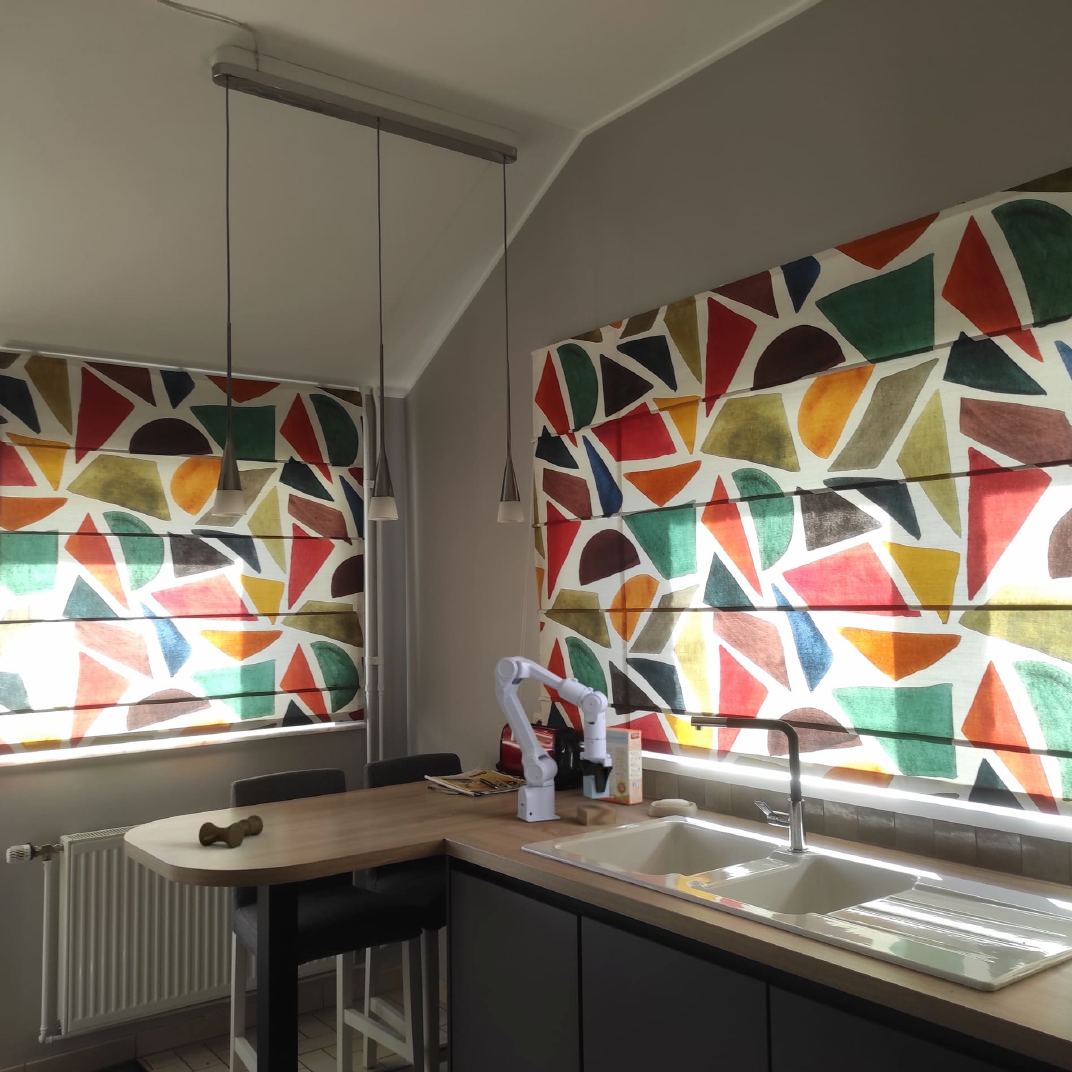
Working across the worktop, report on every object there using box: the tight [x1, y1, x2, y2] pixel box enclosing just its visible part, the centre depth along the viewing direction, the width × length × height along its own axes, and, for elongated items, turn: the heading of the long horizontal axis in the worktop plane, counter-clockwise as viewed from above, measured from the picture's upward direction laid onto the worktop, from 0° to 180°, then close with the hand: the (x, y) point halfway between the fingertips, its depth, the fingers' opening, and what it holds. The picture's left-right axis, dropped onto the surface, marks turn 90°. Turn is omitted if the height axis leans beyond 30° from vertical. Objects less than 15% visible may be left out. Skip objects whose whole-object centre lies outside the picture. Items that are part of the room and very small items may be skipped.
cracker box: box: [595, 726, 644, 806], centre depth 288 cm, size 14×6×21 cm, turn 41°
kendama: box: [198, 814, 264, 849], centre depth 240 cm, size 6×10×20 cm
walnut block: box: [576, 803, 617, 827], centre depth 259 cm, size 8×8×4 cm
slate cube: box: [582, 775, 609, 800], centre depth 260 cm, size 5×5×5 cm
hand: (596, 790), depth 260 cm, fingers closed on slate cube, 5 cm apart
